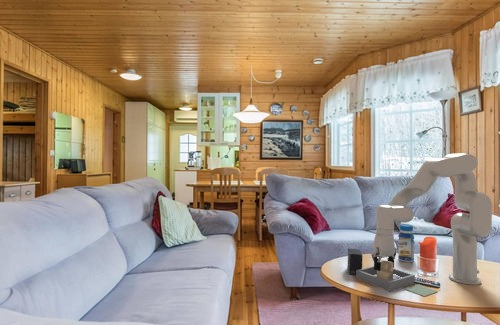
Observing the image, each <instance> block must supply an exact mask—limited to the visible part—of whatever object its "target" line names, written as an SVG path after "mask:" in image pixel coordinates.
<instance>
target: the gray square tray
mask: <svg viewBox="0 0 500 325" xmlns="http://www.w3.org/2000/svg"><path fill="white" fill-rule="evenodd" d="M393 274H396V275H398V276H400V277H402V278H399V279H398V278H396V277H394V276H393V278H390V279H383V278H380V277H378V276H377V270H375V269H374V265H372V266H369V267H365V268H364V267H362V269H359V270H356V275H355V279H356V280H359V281H361V282H364V283H366V284H368V285H372V286H374V287H376V288H379V289H382V290H384V291H387V292H389V293H391V292H394V291H397V290H400V289H403V288H407V287H411V286H414V285H415V284H414V282H415V283H416V275H415V274H413V273H410V272H406V271H403V270H400V269H396V268H395V267H394V268H393Z"/></svg>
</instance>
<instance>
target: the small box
mask: <svg viewBox="0 0 500 325" xmlns="http://www.w3.org/2000/svg"><path fill="white" fill-rule="evenodd" d="M359 269H363V252H361V249H358V248H347V271H348V272H347V273H348V274H349V275H352V276H356V270H359Z"/></svg>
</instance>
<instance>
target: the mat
mask: <svg viewBox="0 0 500 325" xmlns="http://www.w3.org/2000/svg"><path fill="white" fill-rule="evenodd" d="M404 290H405V291H408V292H411V293H412V294H413V293H414V294H416V295H419V296H421V297H424V298H425V297H428V296H431V295H433V294H436V293H438V292H439V291H438V290H435V289H432V288H430V287H426V286H424V285H421V284H413V285H410V286H407V287H404Z"/></svg>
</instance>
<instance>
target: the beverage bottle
mask: <svg viewBox="0 0 500 325" xmlns="http://www.w3.org/2000/svg"><path fill="white" fill-rule="evenodd" d="M413 232H414V226H413V225H412V224H410V223H409V224H408V223H401V224H399V234H398V236H397V238H398V240H397V242H398V243H397V244H398V247H397V248H398V249H397V251H398V252H397V253H398V257H397V258H398V260H399V261H401V262H405V263H412V262H414V261H415V243H416V242H415V240H414V239H415V235H414V233H413Z"/></svg>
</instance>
